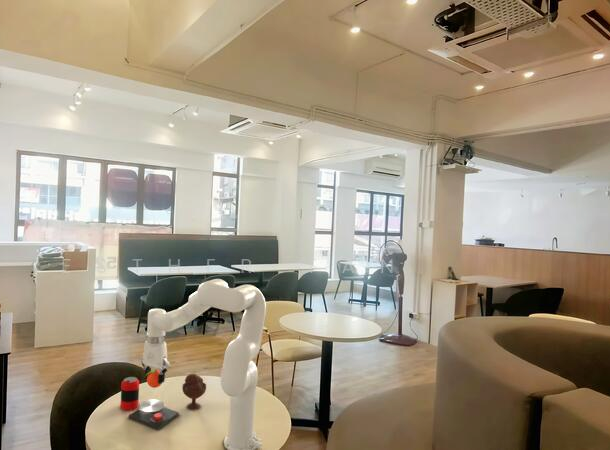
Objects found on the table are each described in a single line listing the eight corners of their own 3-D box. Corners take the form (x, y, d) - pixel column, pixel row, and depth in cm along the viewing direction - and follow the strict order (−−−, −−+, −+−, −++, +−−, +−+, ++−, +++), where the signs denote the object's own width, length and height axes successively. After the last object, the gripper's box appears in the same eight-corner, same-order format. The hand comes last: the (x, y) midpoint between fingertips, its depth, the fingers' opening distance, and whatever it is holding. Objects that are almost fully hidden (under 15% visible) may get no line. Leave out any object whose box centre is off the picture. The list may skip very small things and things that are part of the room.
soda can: (117, 409, 160) (118, 381, 160) (126, 401, 168) (127, 375, 168) (132, 412, 159) (133, 384, 158) (141, 403, 166) (142, 377, 166)
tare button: (163, 418, 150) (163, 414, 150) (158, 421, 147) (158, 418, 147) (157, 416, 151) (157, 412, 151) (152, 419, 149) (152, 415, 149)
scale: (179, 415, 157) (179, 408, 157) (158, 431, 145) (158, 423, 145) (150, 405, 165) (150, 398, 165) (127, 419, 153) (128, 411, 153)
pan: (169, 405, 160) (169, 403, 160) (152, 416, 150) (152, 414, 150) (150, 398, 165) (150, 396, 165) (132, 409, 155) (132, 407, 155)
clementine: (145, 392, 151) (145, 374, 151) (142, 385, 158) (143, 368, 158) (164, 389, 154) (165, 372, 154) (161, 382, 161) (162, 366, 161)
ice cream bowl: (201, 414, 159) (203, 380, 159) (177, 410, 161) (178, 376, 161) (208, 402, 169) (210, 370, 169) (185, 399, 172) (187, 367, 171)
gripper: (134, 337, 157) (132, 378, 157) (166, 345, 148) (164, 389, 148) (146, 332, 163) (145, 372, 163) (178, 340, 155) (176, 382, 155)
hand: (154, 380), depth 156 cm, fingers closed on clementine, 7 cm apart
